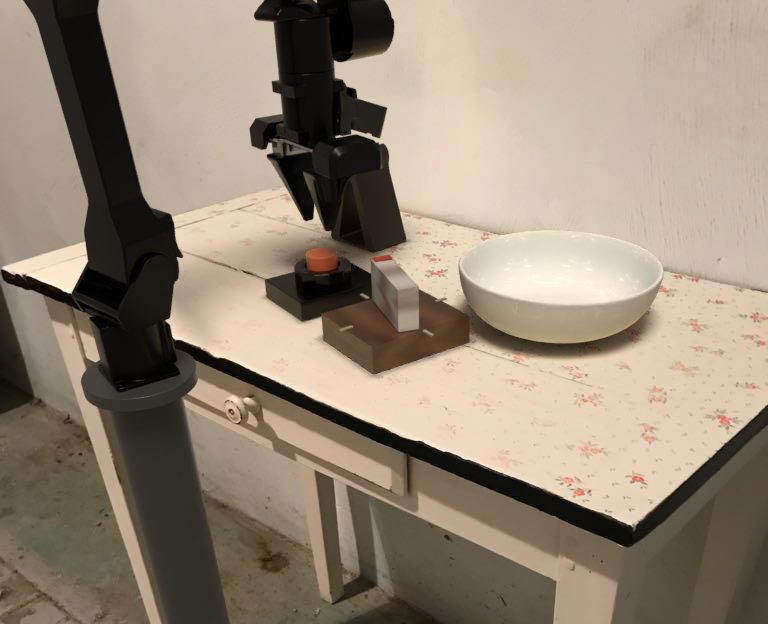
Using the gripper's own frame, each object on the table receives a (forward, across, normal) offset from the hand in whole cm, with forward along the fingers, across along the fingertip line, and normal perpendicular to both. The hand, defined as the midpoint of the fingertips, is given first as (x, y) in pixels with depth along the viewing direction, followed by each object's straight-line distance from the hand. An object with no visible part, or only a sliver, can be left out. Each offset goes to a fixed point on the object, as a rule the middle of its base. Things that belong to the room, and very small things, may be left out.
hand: (319, 225), depth 92 cm
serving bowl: (+9, -22, -16) cm, 29 cm away
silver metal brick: (+5, -15, 0) cm, 16 cm away
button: (+5, 0, 0) cm, 5 cm away
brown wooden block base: (+8, -15, 0) cm, 17 cm away
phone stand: (+9, +14, -15) cm, 22 cm away
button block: (+8, 0, 0) cm, 8 cm away
